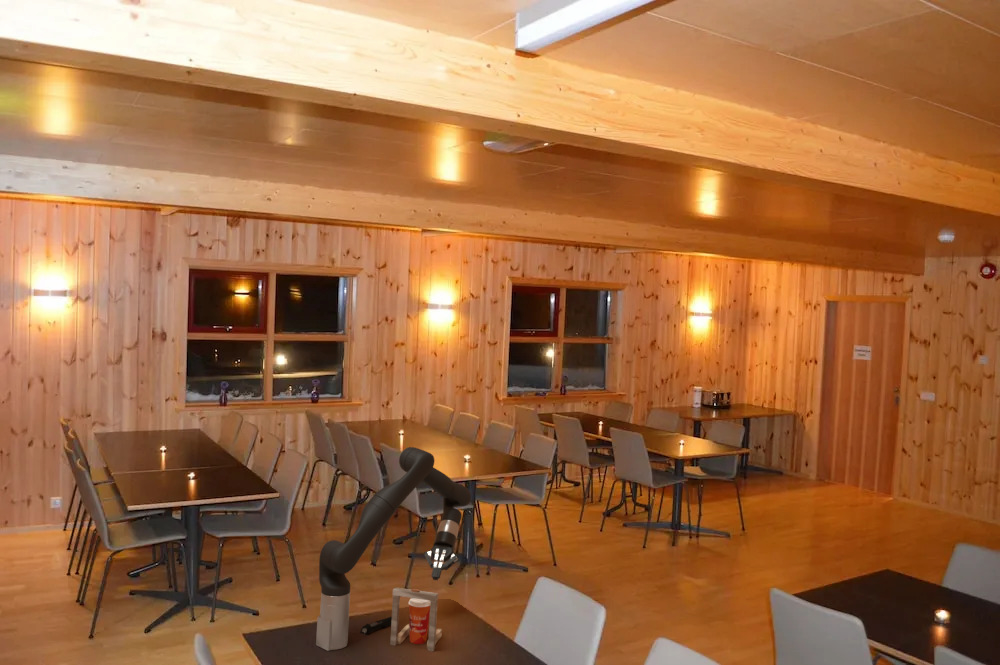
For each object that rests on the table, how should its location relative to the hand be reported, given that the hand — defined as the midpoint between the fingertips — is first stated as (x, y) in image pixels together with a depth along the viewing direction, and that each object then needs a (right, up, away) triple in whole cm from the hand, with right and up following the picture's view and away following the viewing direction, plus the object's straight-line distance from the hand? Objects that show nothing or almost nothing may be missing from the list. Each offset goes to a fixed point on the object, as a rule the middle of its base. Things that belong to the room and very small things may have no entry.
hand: (434, 579), depth 279 cm
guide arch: (-4, -16, -16) cm, 23 cm away
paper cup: (-4, -16, -15) cm, 23 cm away
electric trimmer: (-19, -15, -6) cm, 25 cm away
